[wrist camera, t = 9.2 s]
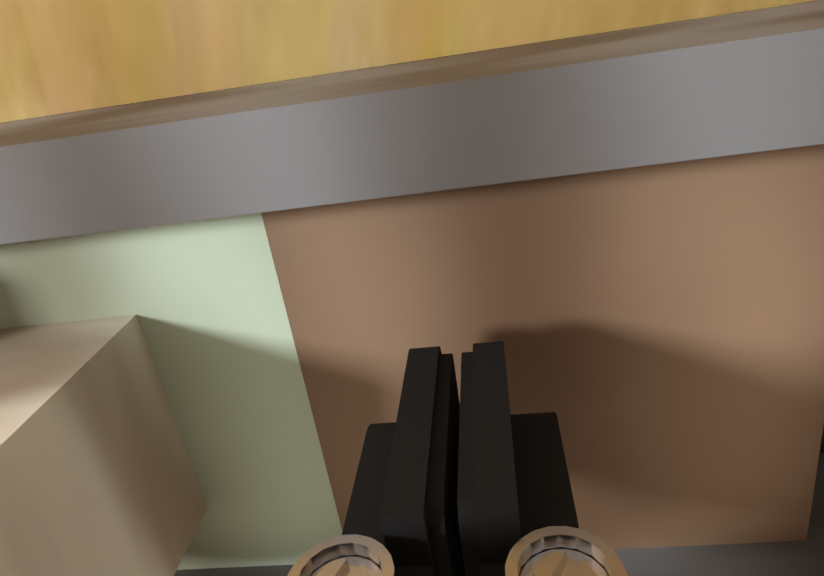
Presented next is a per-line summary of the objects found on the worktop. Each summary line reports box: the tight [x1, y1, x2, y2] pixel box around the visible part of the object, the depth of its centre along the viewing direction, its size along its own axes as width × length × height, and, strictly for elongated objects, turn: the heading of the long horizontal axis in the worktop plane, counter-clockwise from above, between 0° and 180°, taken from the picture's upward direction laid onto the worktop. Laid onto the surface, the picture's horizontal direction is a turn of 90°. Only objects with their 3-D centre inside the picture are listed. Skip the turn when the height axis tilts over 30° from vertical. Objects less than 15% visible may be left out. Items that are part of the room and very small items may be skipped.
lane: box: [0, 0, 824, 576], centre depth 12 cm, size 26×12×6 cm, turn 98°
